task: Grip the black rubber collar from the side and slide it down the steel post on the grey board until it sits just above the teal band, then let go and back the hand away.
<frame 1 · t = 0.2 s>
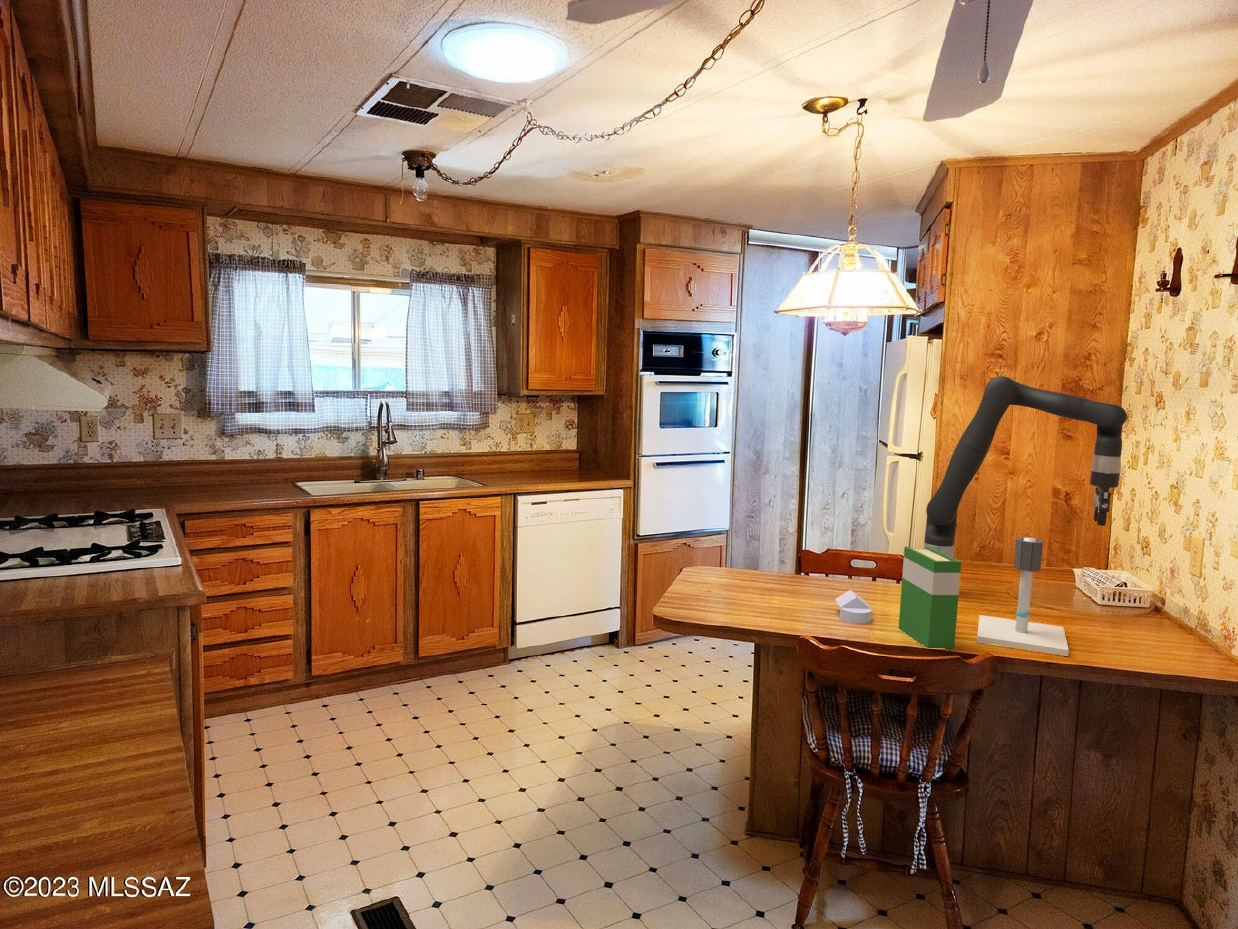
hand: (1099, 523, 248), 29 cm above the worktop, tool pointing down, fingers open, 8 cm apart
post board: (1020, 638, 228), on the worktop
hardback book: (925, 639, 226), on the worktop
wedge on round base: (853, 617, 244), on the worktop
collar: (1028, 554, 226), point 24 cm above the worktop, slide at 0.0 cm
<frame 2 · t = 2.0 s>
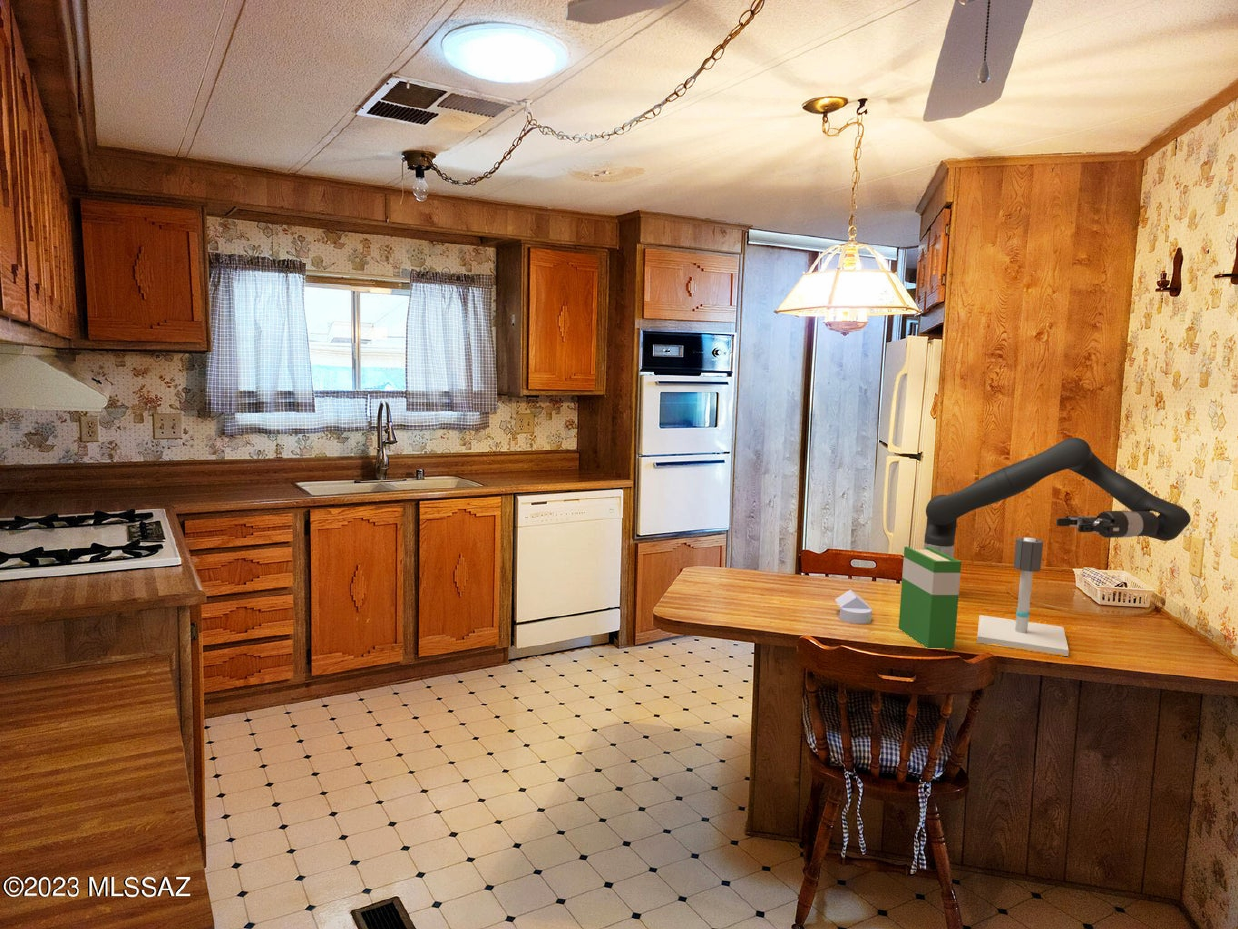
hand: (1068, 525, 226), 32 cm above the worktop, tool horizontal, fingers open, 8 cm apart
nothing on the worktop moved.
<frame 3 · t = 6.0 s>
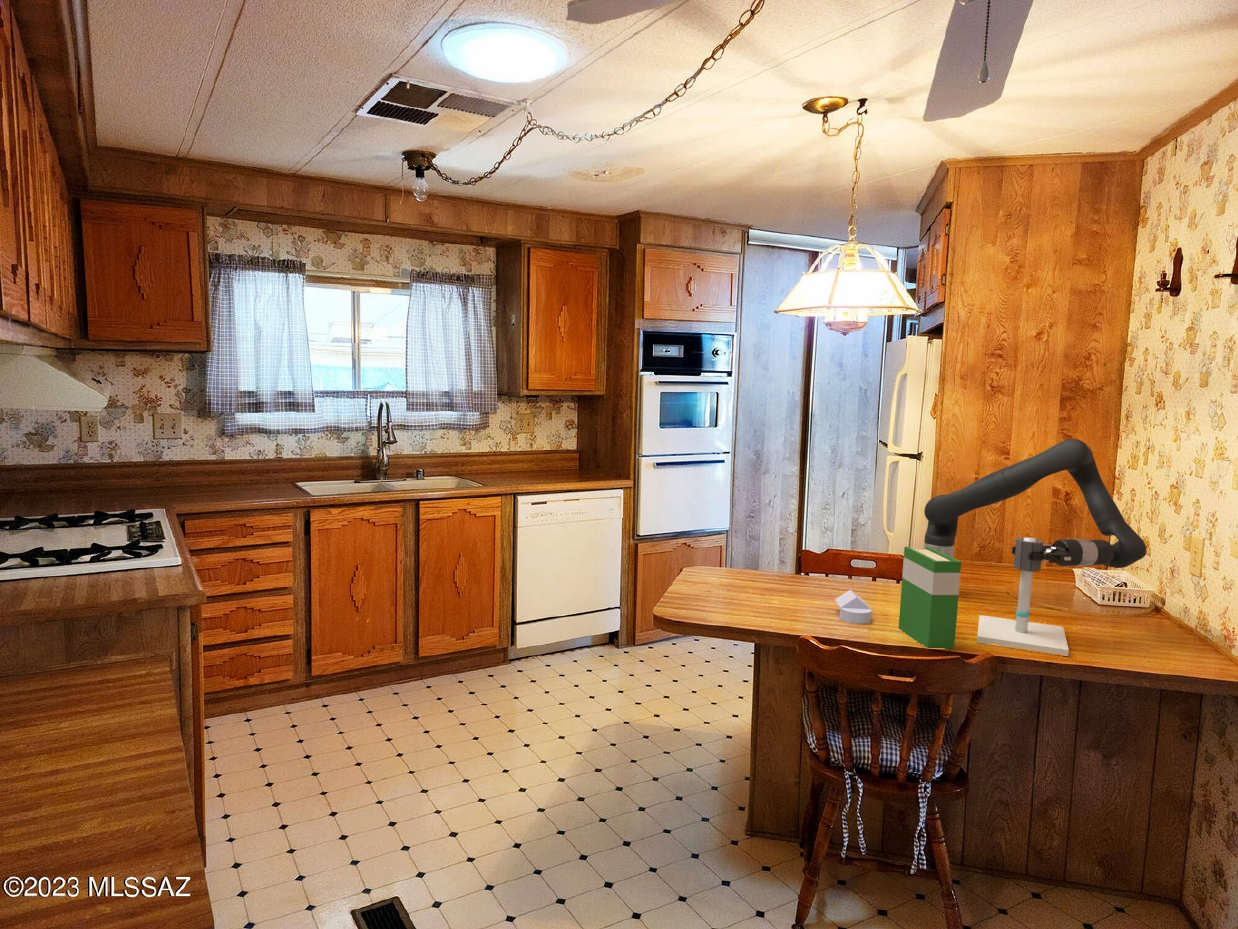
hand: (1021, 553, 225), 24 cm above the worktop, tool horizontal, fingers closed on collar, 6 cm apart
collar: (1028, 554, 226), point 24 cm above the worktop, slide at 0.0 cm, touching gripper
everything else where it was.
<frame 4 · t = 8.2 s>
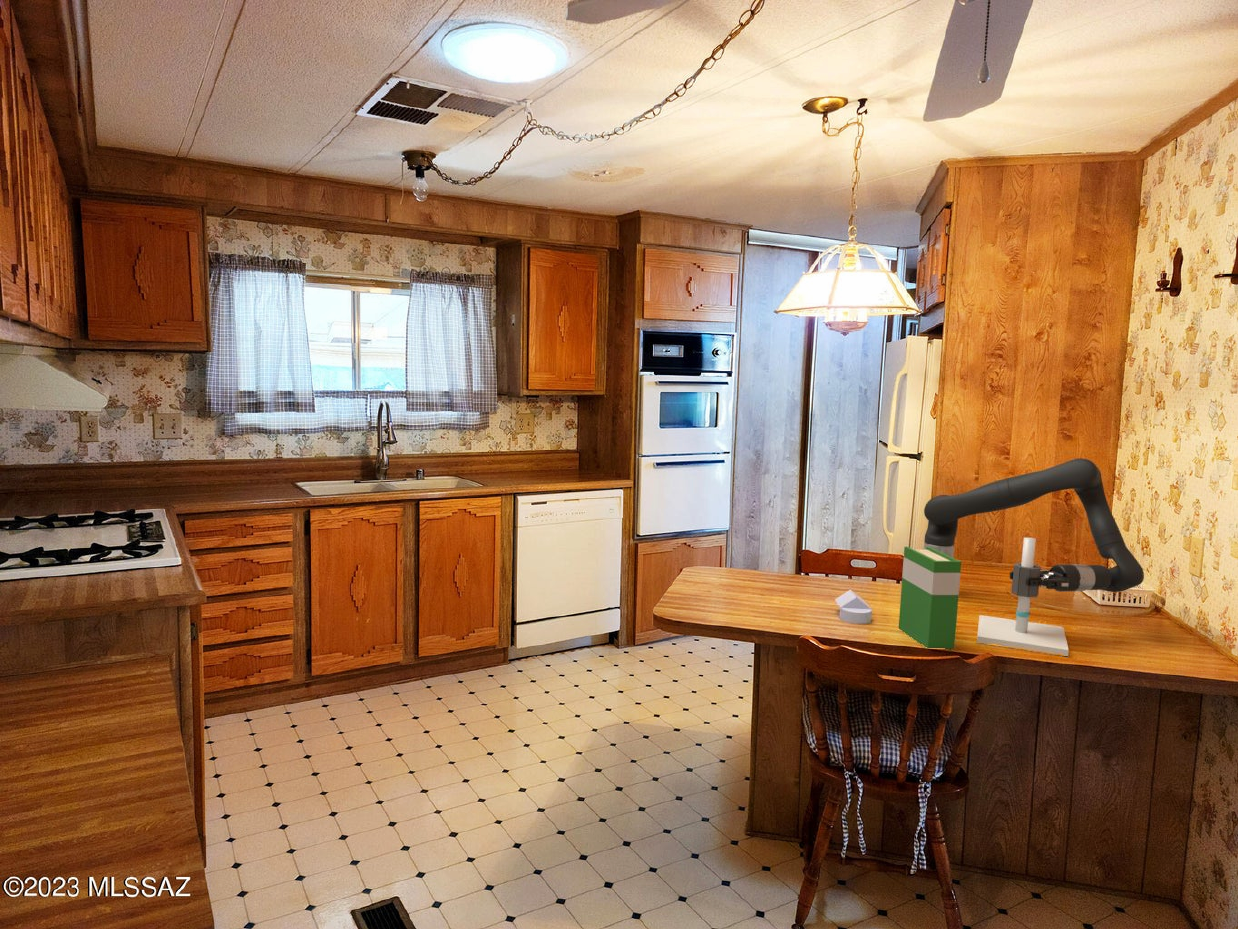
hand: (1018, 578, 226), 17 cm above the worktop, tool horizontal, fingers closed on collar, 6 cm apart
collar: (1026, 579, 226), point 17 cm above the worktop, slide at 7.2 cm, touching gripper
everything else where it was.
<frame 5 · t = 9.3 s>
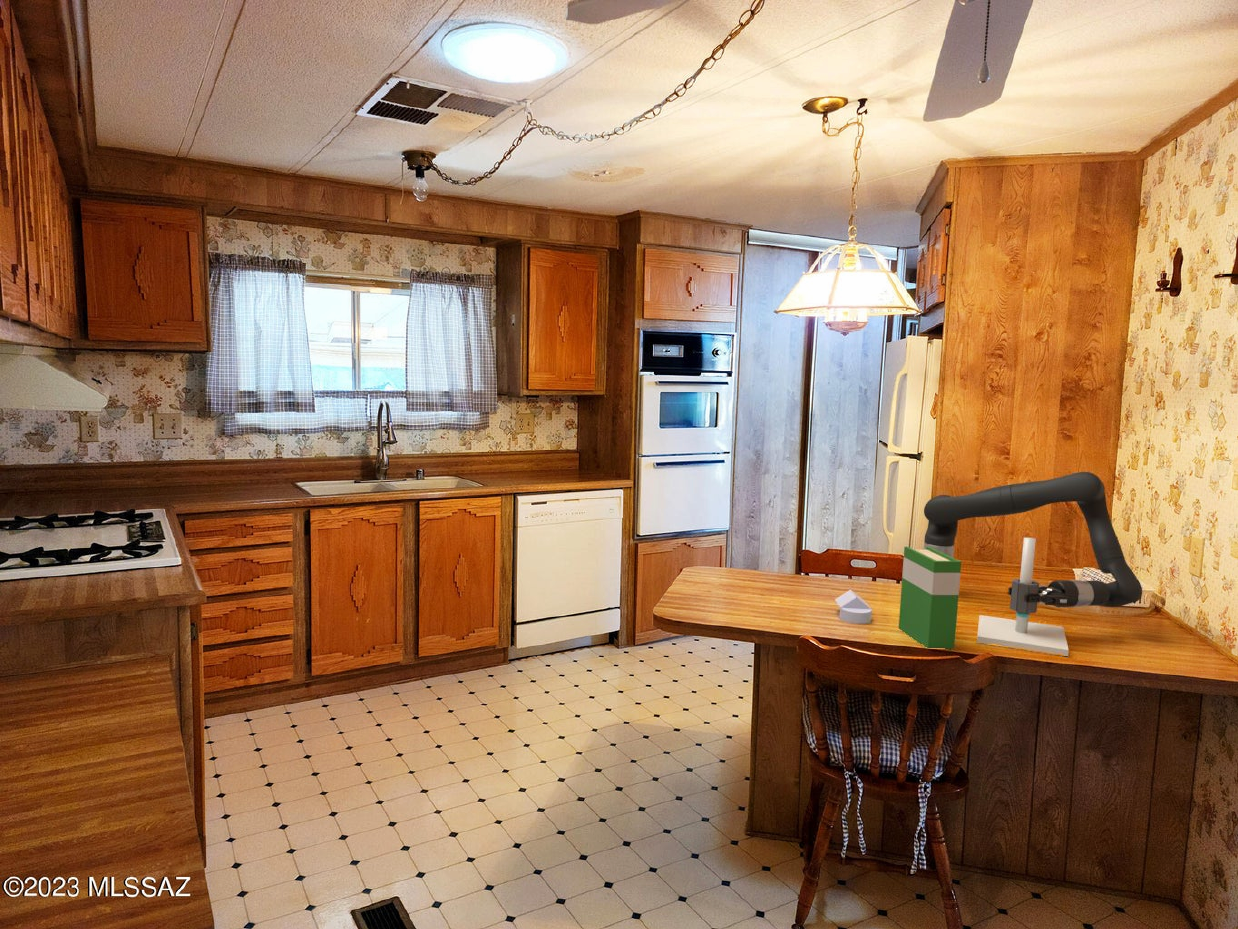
hand: (1017, 594, 226), 13 cm above the worktop, tool horizontal, fingers closed on collar, 6 cm apart
collar: (1024, 595, 227), point 12 cm above the worktop, slide at 11.8 cm, touching gripper
everything else where it was.
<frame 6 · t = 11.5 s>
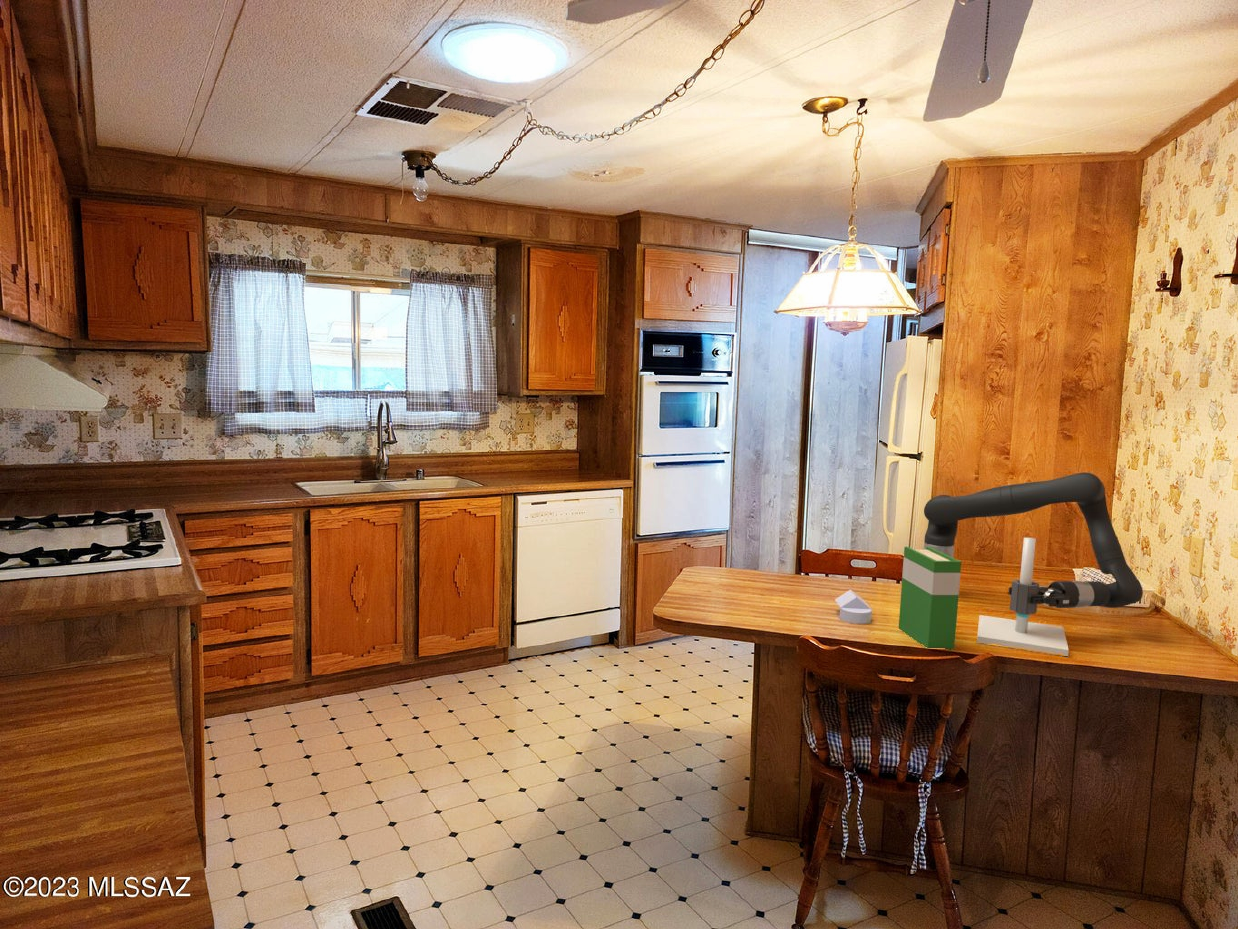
hand: (1019, 595, 227), 12 cm above the worktop, tool horizontal, fingers open, 8 cm apart
collar: (1024, 596, 227), point 12 cm above the worktop, slide at 12.0 cm
everything else where it was.
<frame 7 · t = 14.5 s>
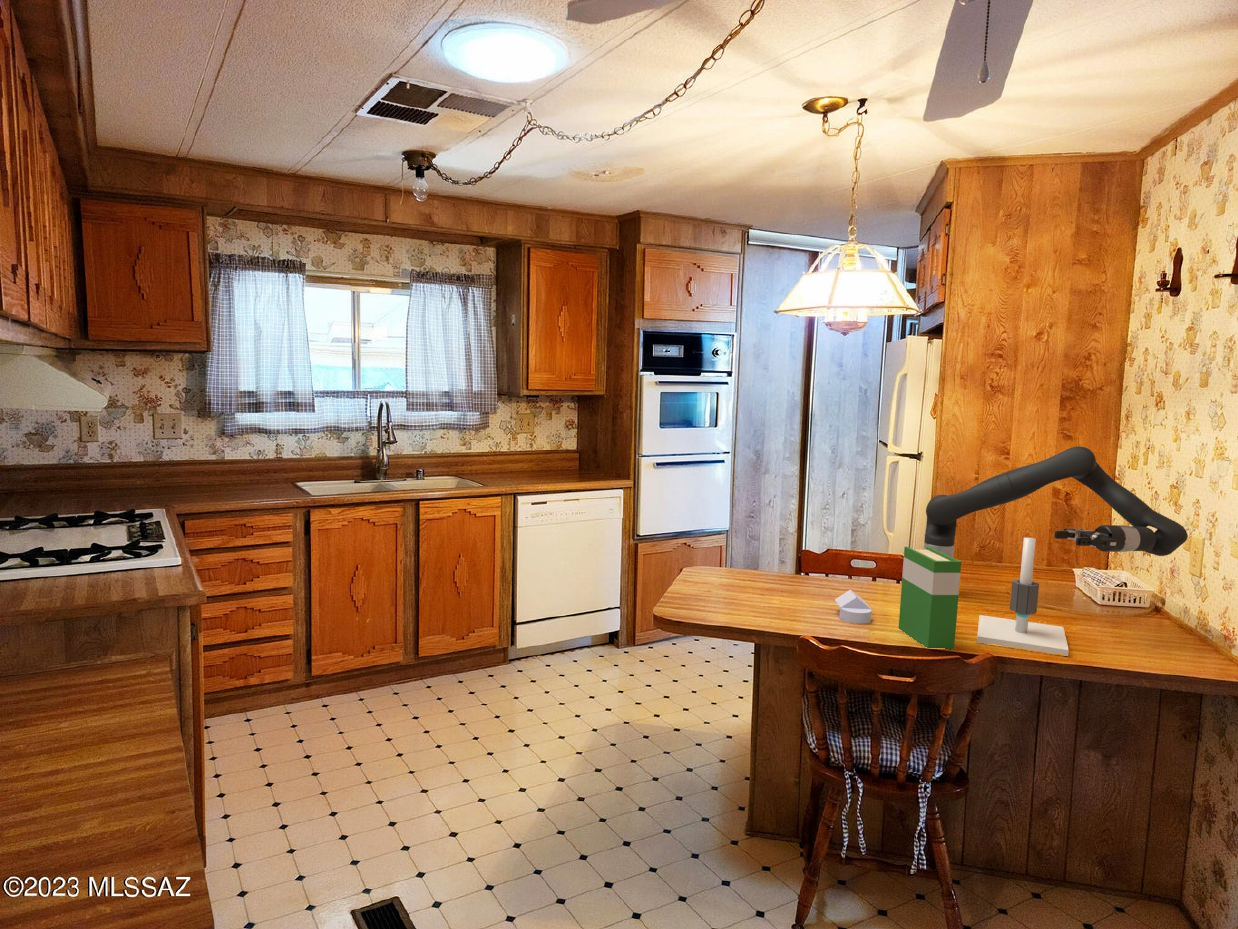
hand: (1065, 538, 229), 28 cm above the worktop, tool horizontal, fingers open, 8 cm apart
nothing on the worktop moved.
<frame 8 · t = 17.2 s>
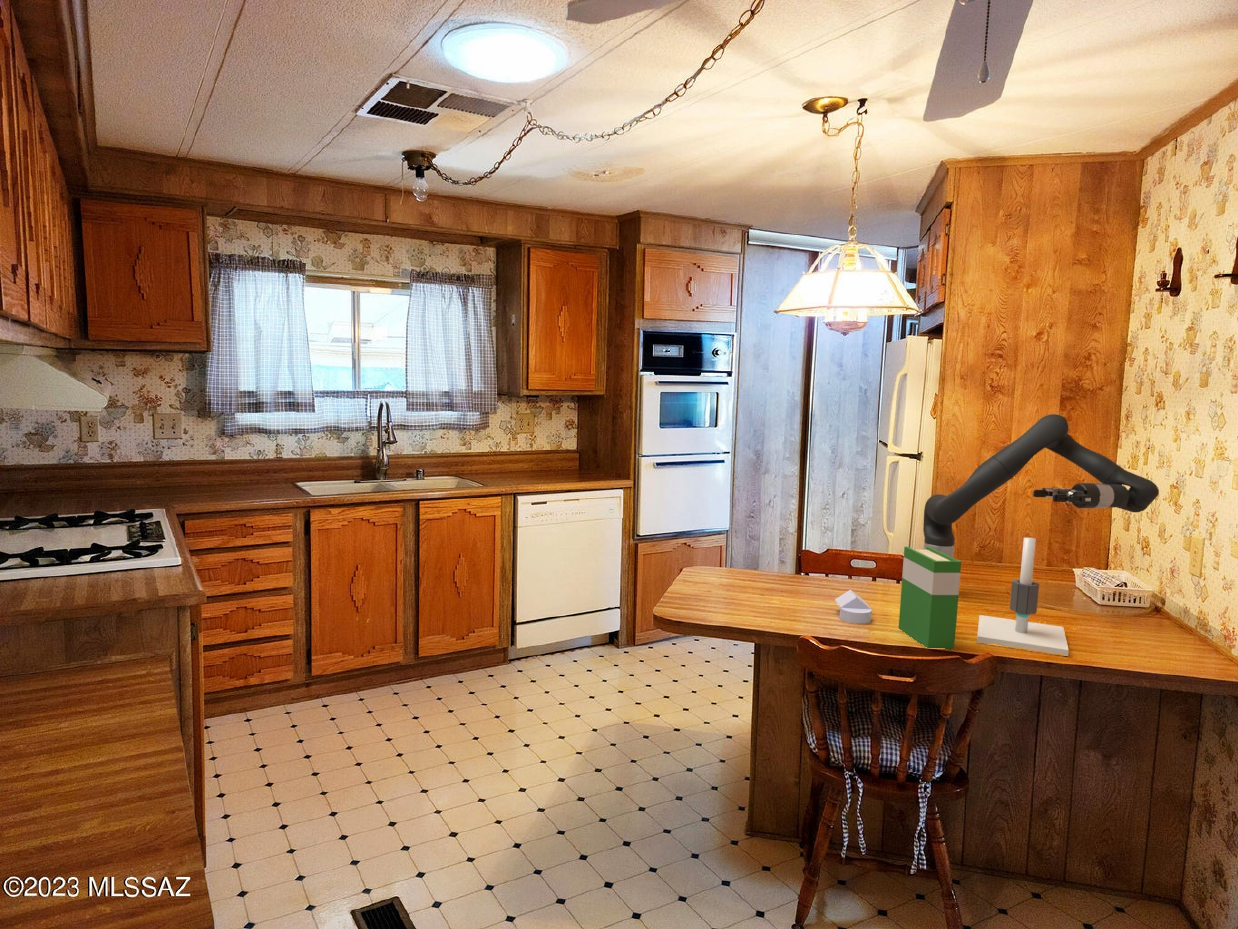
hand: (1043, 495, 241), 38 cm above the worktop, tool horizontal, fingers open, 8 cm apart
nothing on the worktop moved.
at the end: collar slide at 12.0 cm; the gripper is holding nothing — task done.
